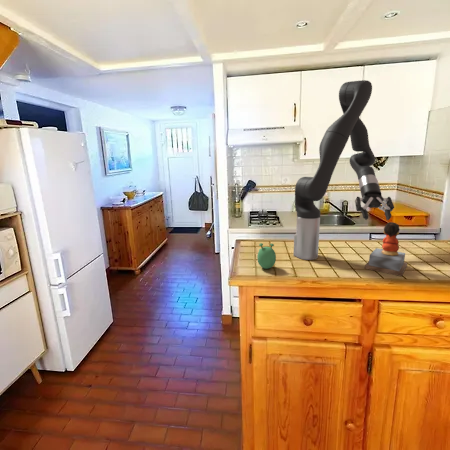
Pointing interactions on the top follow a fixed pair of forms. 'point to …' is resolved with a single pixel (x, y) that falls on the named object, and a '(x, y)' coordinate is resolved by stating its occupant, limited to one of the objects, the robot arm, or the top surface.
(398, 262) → the pedestal
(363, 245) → the top surface
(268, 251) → the alien toy
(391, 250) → the figurine
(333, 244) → the top surface
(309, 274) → the top surface
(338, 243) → the top surface
